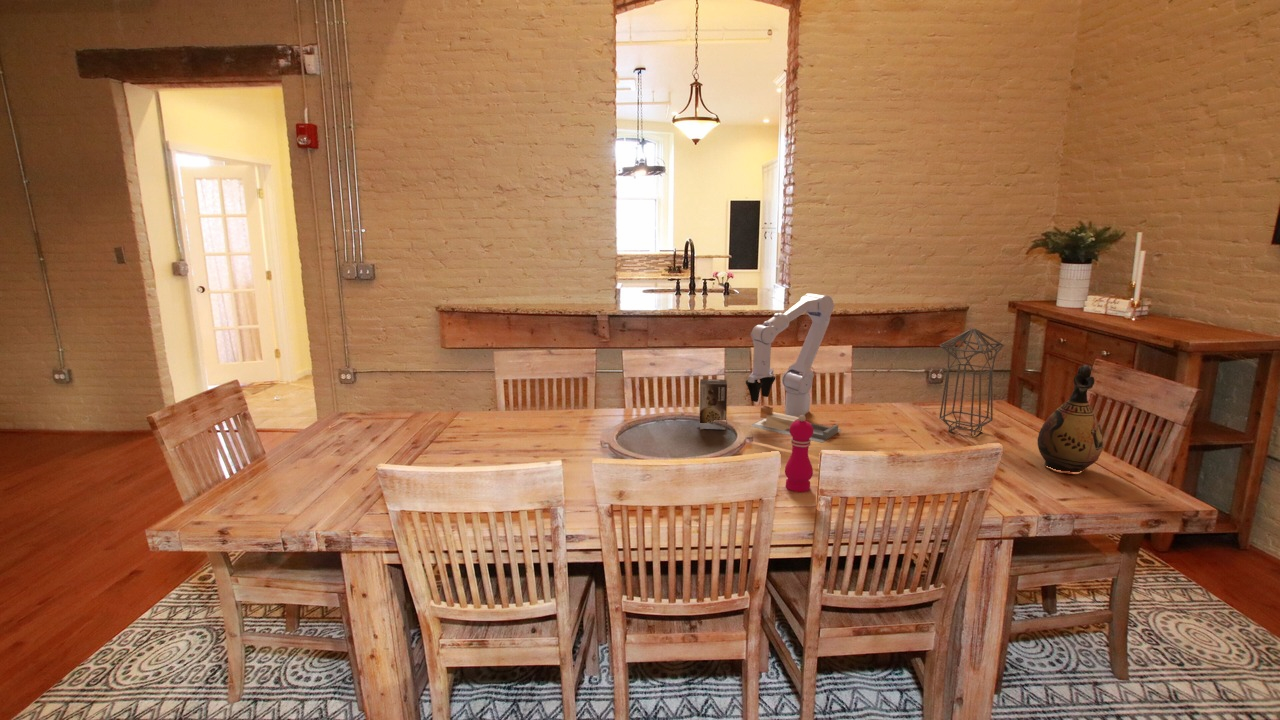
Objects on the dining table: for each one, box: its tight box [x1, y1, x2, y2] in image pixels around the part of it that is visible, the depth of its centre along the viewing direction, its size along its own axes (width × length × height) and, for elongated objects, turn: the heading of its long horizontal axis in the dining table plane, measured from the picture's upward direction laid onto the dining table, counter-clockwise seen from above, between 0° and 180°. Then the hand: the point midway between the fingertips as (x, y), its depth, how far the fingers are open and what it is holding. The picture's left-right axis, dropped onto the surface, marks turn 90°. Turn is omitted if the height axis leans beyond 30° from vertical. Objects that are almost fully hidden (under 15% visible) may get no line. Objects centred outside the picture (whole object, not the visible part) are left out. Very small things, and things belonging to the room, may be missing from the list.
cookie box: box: [699, 378, 728, 423], centre depth 219 cm, size 9×6×16 cm
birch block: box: [760, 405, 799, 429], centre depth 221 cm, size 5×13×5 cm, turn 52°
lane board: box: [749, 418, 842, 443], centre depth 218 cm, size 16×26×3 cm, turn 52°
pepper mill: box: [784, 415, 814, 493], centre depth 171 cm, size 7×7×20 cm
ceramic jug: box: [1037, 364, 1104, 472], centre depth 184 cm, size 17×15×30 cm
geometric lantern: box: [939, 328, 1005, 436], centre depth 214 cm, size 16×16×35 cm
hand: (759, 398), depth 225 cm, fingers open, 7 cm apart
